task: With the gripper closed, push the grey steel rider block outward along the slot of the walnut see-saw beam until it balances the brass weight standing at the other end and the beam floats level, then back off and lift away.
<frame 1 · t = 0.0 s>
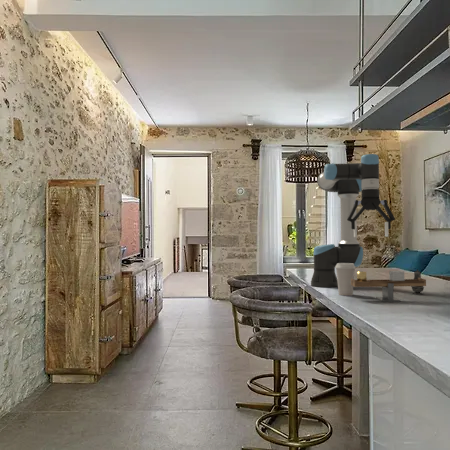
hand: (370, 236, 182), 28 cm above the countertop, fingers open, 13 cm apart
weight: (362, 283, 181), point 7 cm above the countertop, touching beam
coffee cup: (345, 295, 198), on the countertop
salt shaker: (417, 294, 198), on the countertop
beam: (387, 282, 180), point 8 cm above the countertop, hinge at 1.0°, touching rider, weight
fulcrum: (387, 300, 180), on the countertop
rider: (396, 282, 180), point 8 cm above the countertop, touching beam
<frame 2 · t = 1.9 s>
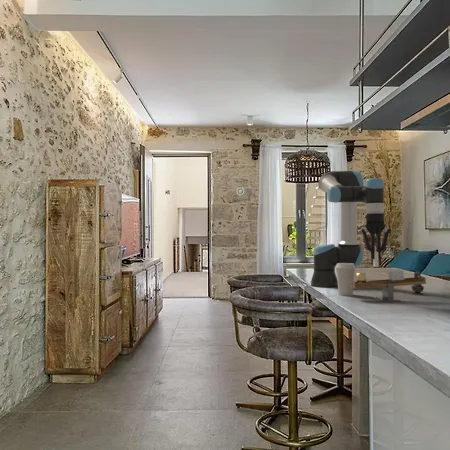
hand: (375, 266, 181), 15 cm above the countertop, fingers closed
beam: (387, 282, 180), point 8 cm above the countertop, hinge at 4.5°, touching rider, weight
everything else where it was.
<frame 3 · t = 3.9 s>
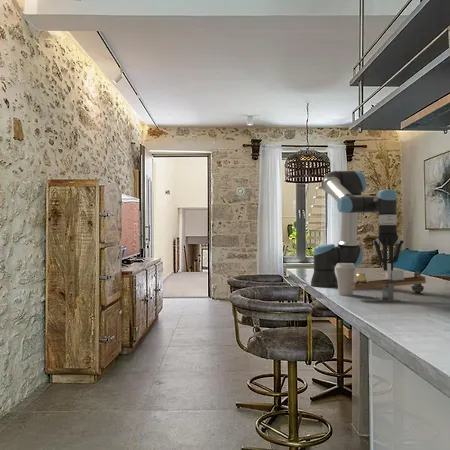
hand: (388, 278, 180), 10 cm above the countertop, fingers closed
beam: (387, 282, 180), point 8 cm above the countertop, hinge at 5.7°, touching rider, weight
rider: (397, 281, 180), point 8 cm above the countertop, tilted 6°, touching beam, gripper
everything else where it was.
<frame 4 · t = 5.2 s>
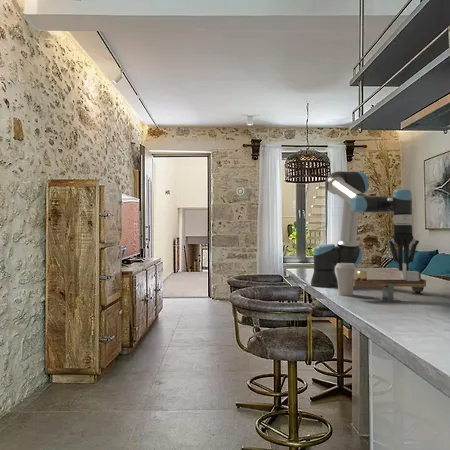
hand: (403, 278, 180), 10 cm above the countertop, fingers closed
weight: (362, 282, 181), point 8 cm above the countertop, touching beam
beam: (387, 282, 180), point 8 cm above the countertop, hinge at -0.1°, touching weight
rider: (411, 282, 180), point 8 cm above the countertop, touching gripper
everything else where it was.
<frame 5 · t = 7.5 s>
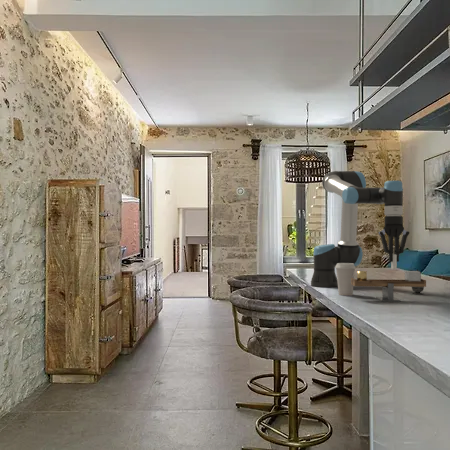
hand: (393, 269, 181), 14 cm above the countertop, fingers closed
beam: (387, 282, 180), point 8 cm above the countertop, hinge at -0.2°, touching rider, weight
rider: (412, 282, 180), point 8 cm above the countertop, touching beam
everything else where it was.
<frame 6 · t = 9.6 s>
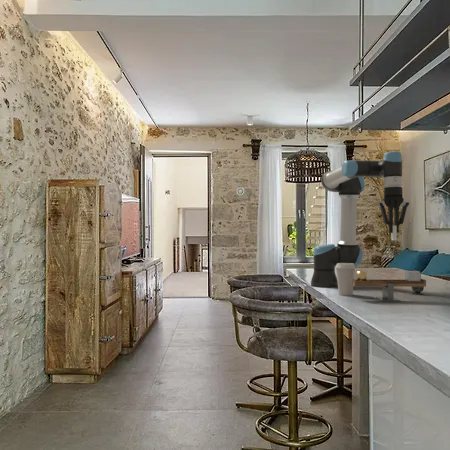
hand: (393, 240, 181), 26 cm above the countertop, fingers closed
beam: (387, 282, 180), point 8 cm above the countertop, hinge at 0.2°, touching rider, weight
everything else where it was.
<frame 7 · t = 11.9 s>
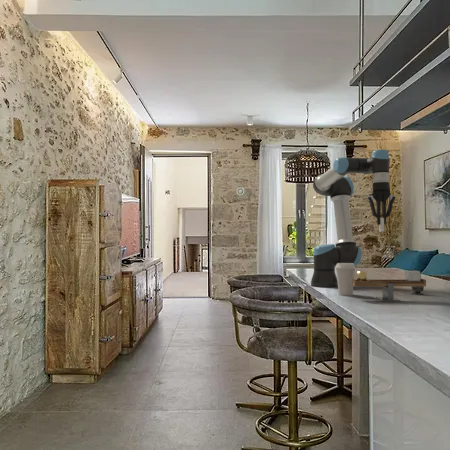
hand: (381, 231, 196), 30 cm above the countertop, fingers closed
nothing on the countertop moved.
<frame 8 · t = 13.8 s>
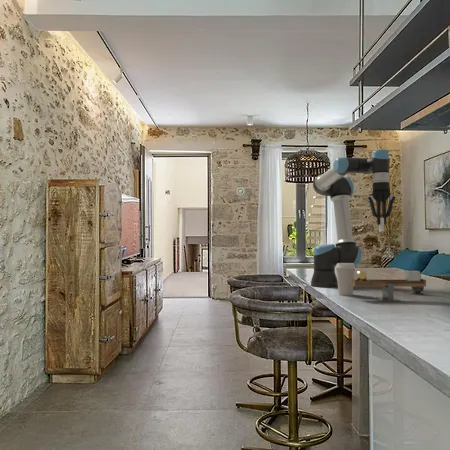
hand: (381, 231, 196), 30 cm above the countertop, fingers closed
nothing on the countertop moved.
at the end: beam at +0° (first picture: +1°); rider 0.7 cm from the target spot on the beam, point 1.2 cm above the beam's base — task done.
